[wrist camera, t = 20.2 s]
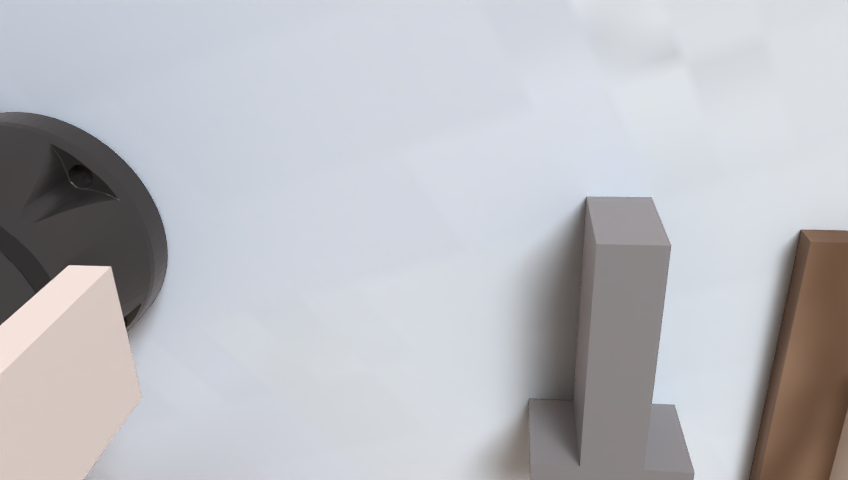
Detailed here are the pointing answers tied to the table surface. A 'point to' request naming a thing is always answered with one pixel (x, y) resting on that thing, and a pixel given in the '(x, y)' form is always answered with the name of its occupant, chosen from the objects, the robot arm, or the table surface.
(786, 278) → the table surface
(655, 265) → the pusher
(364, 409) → the table surface
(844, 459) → the tile
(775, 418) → the walnut board
